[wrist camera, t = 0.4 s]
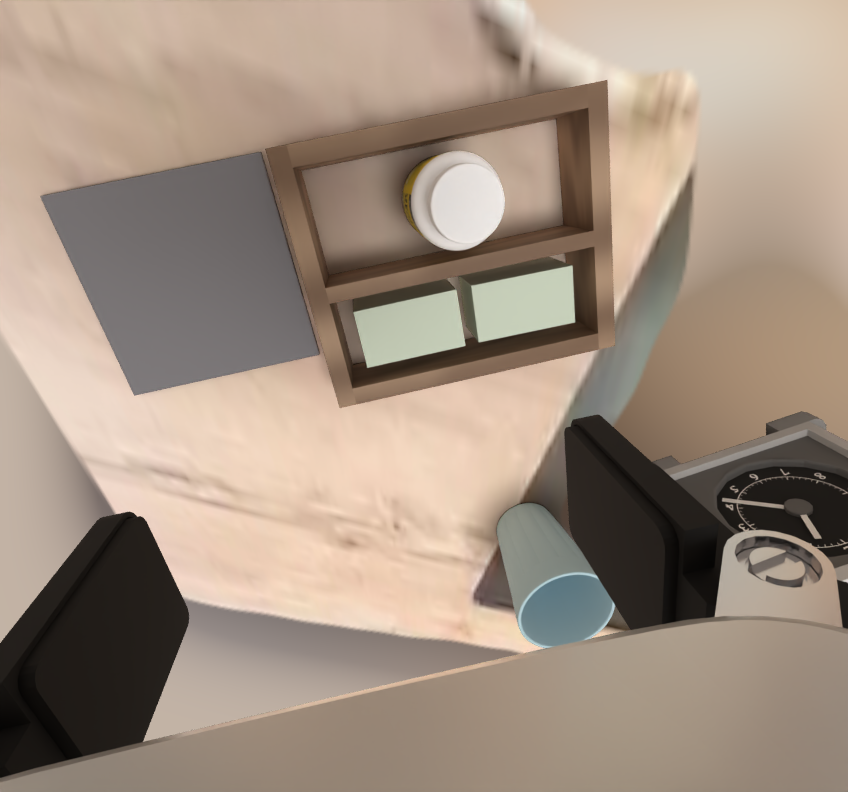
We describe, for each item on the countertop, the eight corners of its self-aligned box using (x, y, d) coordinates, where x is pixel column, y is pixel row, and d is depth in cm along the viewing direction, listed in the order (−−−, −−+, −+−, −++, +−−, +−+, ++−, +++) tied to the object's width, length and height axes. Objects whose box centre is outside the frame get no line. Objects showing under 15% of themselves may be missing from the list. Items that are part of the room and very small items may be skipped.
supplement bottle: (384, 192, 34) (395, 194, 25) (446, 138, 33) (480, 120, 24) (432, 255, 36) (458, 277, 27) (491, 205, 35) (538, 212, 26)
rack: (277, 154, 32) (265, 148, 28) (572, 94, 33) (607, 80, 28) (341, 382, 39) (339, 408, 34) (585, 327, 40) (615, 345, 35)
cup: (525, 477, 45) (572, 556, 35) (579, 518, 47) (635, 602, 38) (468, 532, 46) (498, 622, 37) (523, 569, 49) (564, 662, 39)
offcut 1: (353, 298, 37) (353, 312, 32) (444, 278, 37) (456, 289, 33) (365, 348, 38) (367, 367, 34) (453, 328, 38) (465, 345, 34)
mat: (43, 196, 31) (40, 196, 31) (261, 152, 32) (260, 152, 32) (136, 393, 37) (134, 395, 37) (319, 352, 38) (319, 354, 37)
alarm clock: (812, 407, 46) (1074, 534, 29) (808, 516, 51) (1028, 675, 35) (625, 470, 46) (780, 633, 29) (640, 572, 51) (779, 758, 35)
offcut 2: (458, 274, 37) (471, 285, 33) (548, 256, 37) (572, 265, 33) (465, 325, 38) (478, 342, 34) (551, 307, 39) (575, 322, 35)
